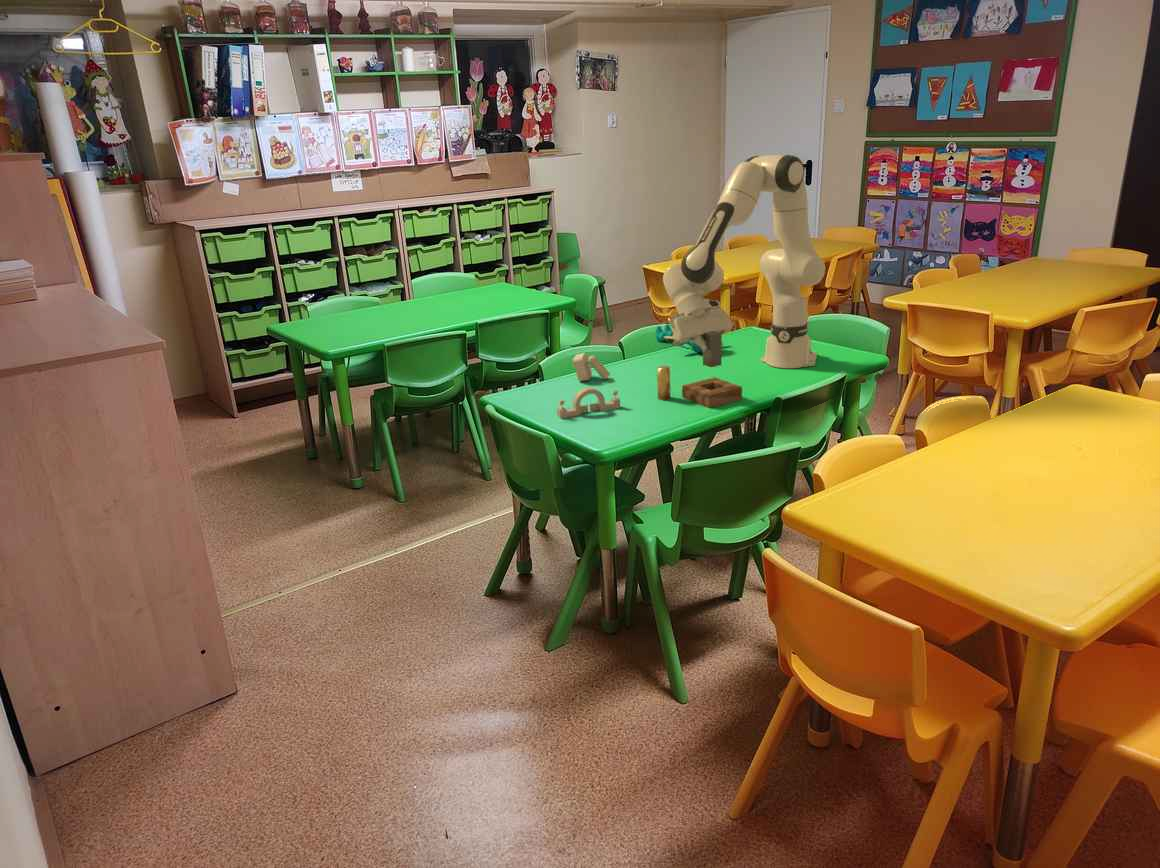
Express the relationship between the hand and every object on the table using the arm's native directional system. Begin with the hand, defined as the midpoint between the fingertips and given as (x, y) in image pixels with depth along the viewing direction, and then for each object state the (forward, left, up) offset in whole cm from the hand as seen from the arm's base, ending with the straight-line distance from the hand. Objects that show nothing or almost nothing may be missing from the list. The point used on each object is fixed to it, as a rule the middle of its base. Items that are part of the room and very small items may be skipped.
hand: (713, 348), depth 245 cm
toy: (-54, -32, -17) cm, 65 cm away
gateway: (+24, -31, -17) cm, 43 cm away
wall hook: (-5, -46, -17) cm, 49 cm away
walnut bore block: (0, -1, -16) cm, 16 cm away
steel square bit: (0, -1, -5) cm, 5 cm away
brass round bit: (+5, -15, -16) cm, 22 cm away
